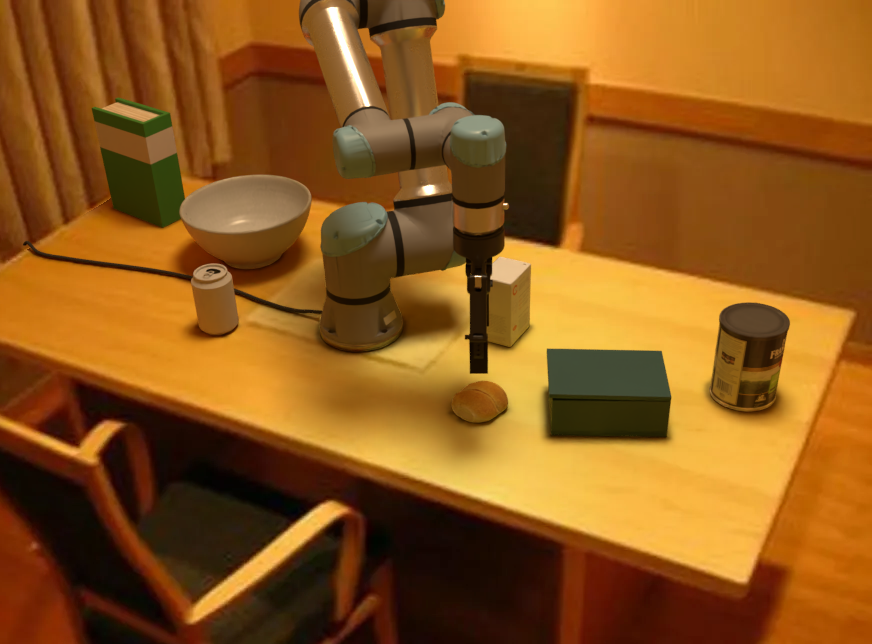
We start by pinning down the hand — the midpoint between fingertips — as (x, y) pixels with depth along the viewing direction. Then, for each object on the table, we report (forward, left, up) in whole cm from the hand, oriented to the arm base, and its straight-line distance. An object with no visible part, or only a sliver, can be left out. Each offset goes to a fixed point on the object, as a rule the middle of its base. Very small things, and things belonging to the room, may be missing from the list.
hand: (479, 348), depth 168 cm
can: (-49, +25, -12) cm, 57 cm away
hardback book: (-76, +74, -12) cm, 107 cm away
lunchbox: (+20, 0, -12) cm, 23 cm away
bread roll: (0, 0, -12) cm, 12 cm away
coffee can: (+42, +5, -12) cm, 44 cm away
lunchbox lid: (+20, 0, -5) cm, 20 cm away
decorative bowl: (-48, +53, -12) cm, 73 cm away
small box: (+4, +23, -12) cm, 27 cm away
